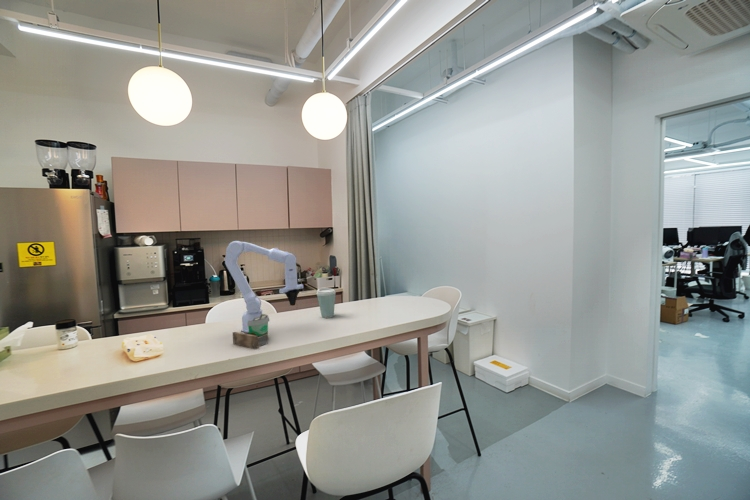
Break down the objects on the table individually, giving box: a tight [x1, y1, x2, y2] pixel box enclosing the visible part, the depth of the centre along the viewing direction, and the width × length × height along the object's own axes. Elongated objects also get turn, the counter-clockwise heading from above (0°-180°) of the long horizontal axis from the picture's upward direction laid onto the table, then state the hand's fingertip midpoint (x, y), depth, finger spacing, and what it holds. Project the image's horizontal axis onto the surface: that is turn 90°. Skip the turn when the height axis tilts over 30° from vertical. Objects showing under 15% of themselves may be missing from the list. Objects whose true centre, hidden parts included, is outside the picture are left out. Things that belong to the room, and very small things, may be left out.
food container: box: [247, 313, 271, 340], centre depth 145 cm, size 12×6×10 cm, turn 171°
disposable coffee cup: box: [315, 287, 337, 319], centre depth 181 cm, size 11×11×15 cm
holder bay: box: [232, 331, 268, 350], centre depth 141 cm, size 14×7×5 cm, turn 60°
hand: (292, 305), depth 165 cm, fingers closed
